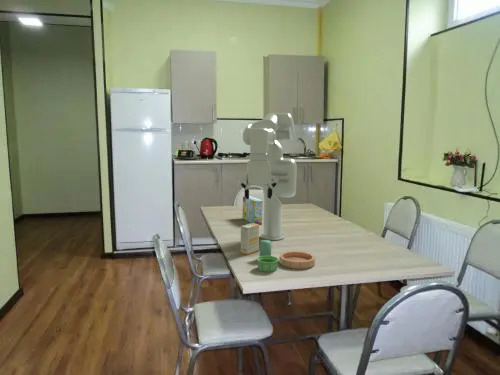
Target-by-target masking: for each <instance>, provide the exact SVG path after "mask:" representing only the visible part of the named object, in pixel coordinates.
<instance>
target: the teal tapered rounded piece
mask: <svg viewBox="0 0 500 375" xmlns="http://www.w3.org/2000/svg"><path fill="white" fill-rule="evenodd" d="M260 256H272V240H266V239H261V240H259V257H260Z"/></svg>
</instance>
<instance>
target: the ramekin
mask: <svg viewBox="0 0 500 375" xmlns="http://www.w3.org/2000/svg"><path fill="white" fill-rule="evenodd" d="M256 261H257V262H256V263H257V269H258V271H260V272H264V273H273V272H276V271H277V270H278V267H279V266H278V265H279V264H278V263H279V258H278V257H276V256H273V255H271V256H260V255H259V256H258V257H257V258H256Z"/></svg>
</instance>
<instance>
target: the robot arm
mask: <svg viewBox="0 0 500 375" xmlns="http://www.w3.org/2000/svg"><path fill="white" fill-rule="evenodd" d="M295 136H296V127H295V123H294V118H293V116H292V115H291V113H288V112H270V113H267V114H266V115H265V116H264V117H263V118H262V119H261V120H259V121H255V122H252V123H249V124H248V125H247V126H245V128H244V130H243V133H242V139H243V140H242V141H243V143H244V144H245V145H246V146H249V149H250V151H249V160H248V161H247V165H246V171H245V172H246V173H245V175H242V176H241V177H240V178H238V180H237V181H238V182H239V184H240V186H241V187H242V188H243V189H244V196H245V197H246V199H249V196H250V189H249V188H250V187H251V186H262V193H263V233H261V234H260V238H261V239H262V240H270V241H279V240H283V239H284V238H285V234H283V233H282V226H283V224H282V222H283V221H282V220H283V219H282V218H283V205H282V202H281V201H280V199H279V198H293V197H295V195H296V194H297V176H298V175H297V173H298V172H297V171H298V167H297V166H298V165H297V162H296V160H295V159H294V158H289V157H288V158H287V157H286V158H284V148H283V146H282V144H280V141H282V142H283V141H285V142H286V141H287V142H289V141H290V142H291V141H293V140H294V139H295V138H296V137H295ZM278 177H286V179H285V178H278ZM244 180H245V183H244Z"/></svg>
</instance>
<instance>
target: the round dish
mask: <svg viewBox="0 0 500 375" xmlns="http://www.w3.org/2000/svg"><path fill="white" fill-rule="evenodd" d="M278 259H279V260H278V263H279V264H280V265H281V266H282V267H285V268H288V269H293V270H304V269H310V268H313V267H314V266H315V264H316V256H315V255H314V254H312V253H309V252H306V251H297V250H291V251H290V250H289V251H285V252H282V253H280V255H279V258H278Z"/></svg>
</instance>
